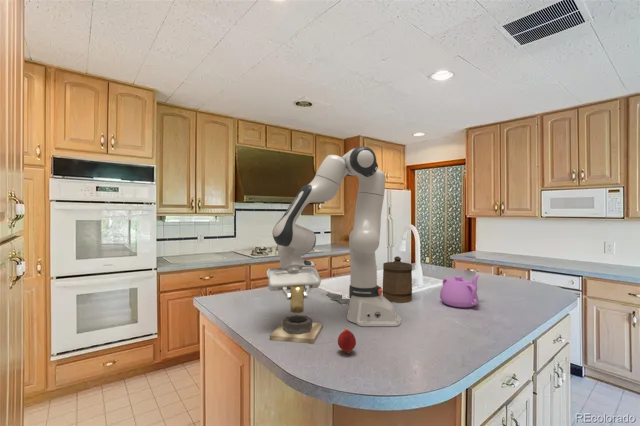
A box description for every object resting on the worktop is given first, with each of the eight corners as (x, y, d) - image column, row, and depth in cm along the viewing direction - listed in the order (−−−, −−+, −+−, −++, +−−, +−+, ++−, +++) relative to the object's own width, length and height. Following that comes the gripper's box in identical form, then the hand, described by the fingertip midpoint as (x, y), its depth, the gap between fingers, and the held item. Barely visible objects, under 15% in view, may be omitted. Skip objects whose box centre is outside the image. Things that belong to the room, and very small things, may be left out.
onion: (354, 348, 106) (354, 324, 106) (357, 356, 101) (357, 331, 101) (336, 349, 106) (337, 325, 106) (338, 357, 100) (338, 331, 100)
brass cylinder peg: (305, 309, 122) (305, 285, 122) (301, 313, 117) (302, 288, 117) (292, 308, 123) (292, 284, 123) (288, 312, 118) (288, 287, 118)
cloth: (361, 306, 155) (361, 302, 155) (333, 308, 152) (333, 303, 152) (345, 293, 181) (345, 289, 181) (321, 294, 178) (321, 290, 178)
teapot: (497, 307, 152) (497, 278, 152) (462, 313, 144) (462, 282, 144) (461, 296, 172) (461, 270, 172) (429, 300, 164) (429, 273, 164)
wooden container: (415, 297, 170) (415, 255, 170) (407, 304, 157) (407, 259, 157) (388, 293, 177) (388, 254, 177) (378, 300, 165) (378, 257, 165)
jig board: (322, 327, 126) (322, 314, 126) (313, 343, 111) (313, 329, 111) (283, 324, 130) (283, 311, 130) (269, 339, 114) (269, 325, 114)
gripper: (266, 263, 123) (270, 295, 114) (317, 261, 130) (325, 291, 121) (264, 273, 128) (268, 304, 118) (313, 270, 134) (321, 300, 125)
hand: (297, 298), depth 120 cm, fingers closed on brass cylinder peg, 5 cm apart
